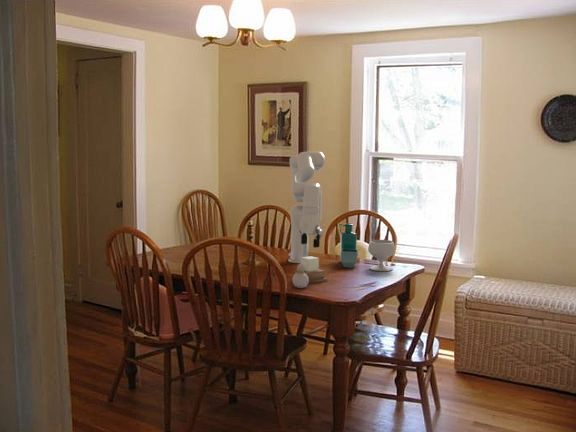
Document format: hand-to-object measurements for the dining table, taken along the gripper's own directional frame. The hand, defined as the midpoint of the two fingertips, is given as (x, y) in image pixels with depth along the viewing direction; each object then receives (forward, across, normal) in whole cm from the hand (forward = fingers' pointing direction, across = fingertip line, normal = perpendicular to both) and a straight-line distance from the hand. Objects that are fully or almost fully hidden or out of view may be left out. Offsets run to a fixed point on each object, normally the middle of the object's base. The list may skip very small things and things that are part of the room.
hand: (310, 245), depth 296 cm
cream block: (+12, +1, 0) cm, 12 cm away
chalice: (+18, 0, +47) cm, 51 cm away
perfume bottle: (+16, +12, -14) cm, 25 cm away
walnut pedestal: (+17, +1, -1) cm, 17 cm away
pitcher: (+18, -24, +44) cm, 54 cm away
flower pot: (+18, -14, +37) cm, 44 cm away
